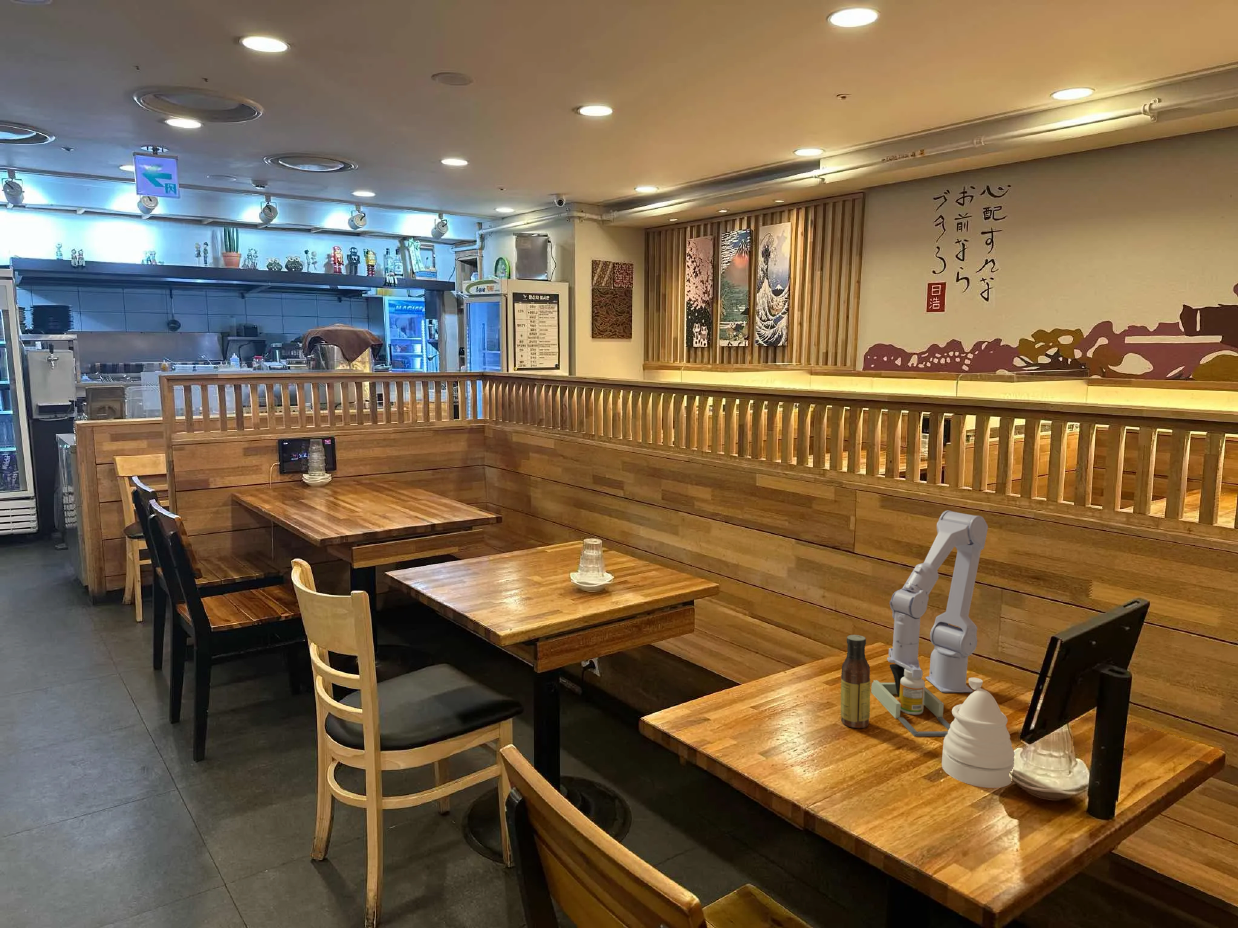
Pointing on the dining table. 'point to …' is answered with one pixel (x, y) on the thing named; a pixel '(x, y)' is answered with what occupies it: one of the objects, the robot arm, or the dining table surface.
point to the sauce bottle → (855, 684)
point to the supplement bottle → (911, 693)
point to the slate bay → (926, 733)
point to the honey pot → (978, 742)
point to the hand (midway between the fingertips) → (902, 695)
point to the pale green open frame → (893, 706)
